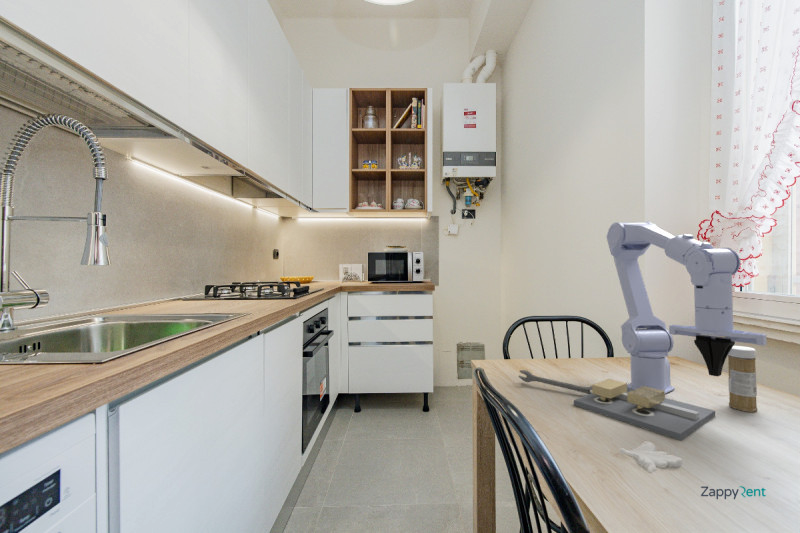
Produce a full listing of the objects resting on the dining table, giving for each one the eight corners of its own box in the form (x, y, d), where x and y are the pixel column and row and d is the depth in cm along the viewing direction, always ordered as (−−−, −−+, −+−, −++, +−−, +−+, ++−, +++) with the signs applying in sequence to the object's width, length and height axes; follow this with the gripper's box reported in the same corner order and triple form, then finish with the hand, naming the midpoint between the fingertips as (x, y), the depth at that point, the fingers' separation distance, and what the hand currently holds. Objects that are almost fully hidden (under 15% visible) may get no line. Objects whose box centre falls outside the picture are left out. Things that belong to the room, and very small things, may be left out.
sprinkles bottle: (736, 403, 78) (734, 344, 79) (762, 410, 74) (760, 348, 74) (723, 406, 77) (722, 346, 77) (750, 414, 73) (748, 350, 73)
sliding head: (643, 399, 77) (643, 385, 77) (665, 405, 74) (664, 390, 74) (627, 407, 73) (627, 392, 73) (649, 413, 70) (648, 398, 70)
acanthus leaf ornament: (648, 448, 61) (648, 437, 61) (688, 470, 54) (688, 458, 54) (613, 453, 59) (612, 442, 59) (650, 476, 53) (649, 464, 53)
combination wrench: (601, 385, 82) (518, 367, 95) (600, 389, 81) (516, 370, 94) (602, 396, 84) (520, 377, 96) (601, 400, 83) (518, 380, 96)
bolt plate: (613, 389, 89) (613, 372, 89) (715, 416, 72) (714, 395, 72) (573, 405, 79) (573, 385, 79) (680, 440, 62) (679, 416, 62)
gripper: (662, 306, 74) (664, 369, 73) (758, 312, 61) (760, 388, 61) (675, 304, 77) (677, 364, 77) (768, 309, 65) (770, 381, 65)
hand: (715, 374), depth 70 cm, fingers closed
